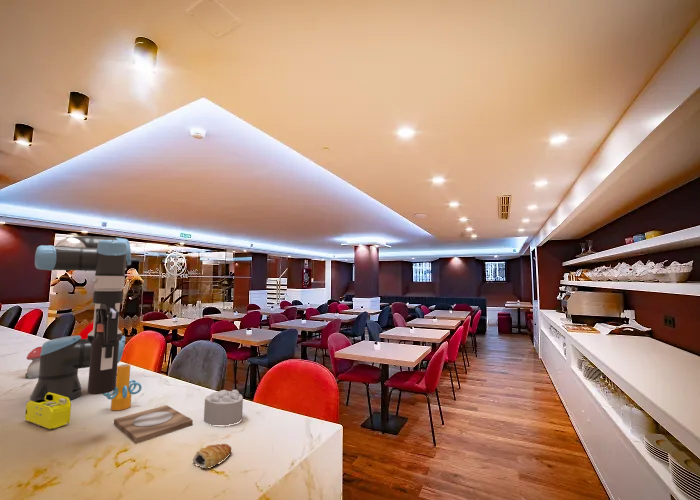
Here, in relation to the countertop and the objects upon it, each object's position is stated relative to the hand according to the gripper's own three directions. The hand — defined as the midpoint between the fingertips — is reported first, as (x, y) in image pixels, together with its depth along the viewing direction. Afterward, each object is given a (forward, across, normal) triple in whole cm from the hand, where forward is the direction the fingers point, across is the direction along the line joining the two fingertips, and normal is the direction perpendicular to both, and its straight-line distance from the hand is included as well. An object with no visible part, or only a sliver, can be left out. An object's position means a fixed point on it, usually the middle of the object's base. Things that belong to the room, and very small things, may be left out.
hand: (102, 366), depth 99 cm
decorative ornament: (+22, -96, -1) cm, 99 cm away
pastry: (+20, +38, +15) cm, 46 cm away
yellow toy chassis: (+21, -23, -8) cm, 32 cm away
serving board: (+20, +4, +14) cm, 25 cm away
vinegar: (+7, 0, 0) cm, 7 cm away
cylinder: (+21, -20, +12) cm, 31 cm away
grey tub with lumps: (+20, +18, +31) cm, 41 cm away
